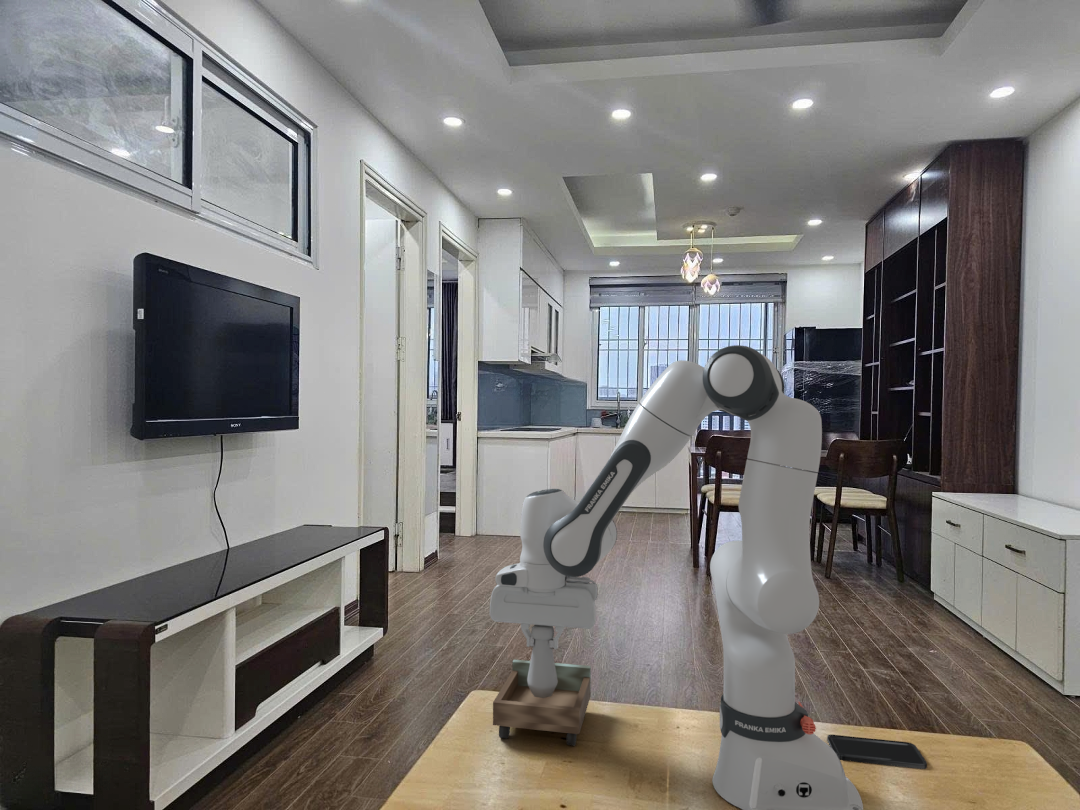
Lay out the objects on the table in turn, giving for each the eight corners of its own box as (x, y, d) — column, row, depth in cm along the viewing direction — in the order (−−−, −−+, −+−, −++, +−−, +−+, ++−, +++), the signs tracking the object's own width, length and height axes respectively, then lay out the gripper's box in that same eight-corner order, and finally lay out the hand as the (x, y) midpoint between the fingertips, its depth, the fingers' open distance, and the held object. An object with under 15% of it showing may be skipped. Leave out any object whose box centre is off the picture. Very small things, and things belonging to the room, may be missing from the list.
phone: (826, 733, 125) (913, 742, 122) (826, 739, 125) (913, 748, 122) (835, 755, 117) (929, 765, 114) (835, 762, 117) (929, 772, 114)
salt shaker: (542, 684, 131) (543, 618, 131) (563, 693, 127) (564, 625, 127) (520, 693, 127) (521, 624, 127) (541, 703, 123) (542, 632, 123)
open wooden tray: (590, 710, 135) (590, 666, 135) (579, 751, 119) (579, 700, 119) (513, 702, 138) (513, 659, 138) (492, 741, 123) (493, 692, 122)
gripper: (599, 573, 128) (598, 645, 128) (496, 567, 132) (495, 637, 132) (595, 582, 121) (594, 658, 122) (487, 575, 126) (486, 648, 126)
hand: (542, 647), depth 127 cm, fingers closed on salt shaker, 3 cm apart
